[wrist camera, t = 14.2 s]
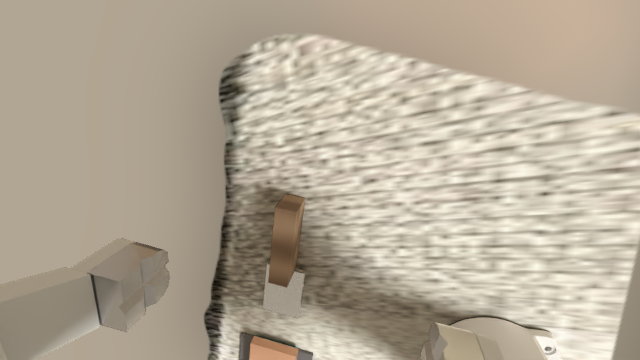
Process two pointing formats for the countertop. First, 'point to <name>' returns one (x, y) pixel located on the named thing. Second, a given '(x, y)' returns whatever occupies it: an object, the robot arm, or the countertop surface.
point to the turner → (285, 259)
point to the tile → (271, 350)
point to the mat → (303, 356)
